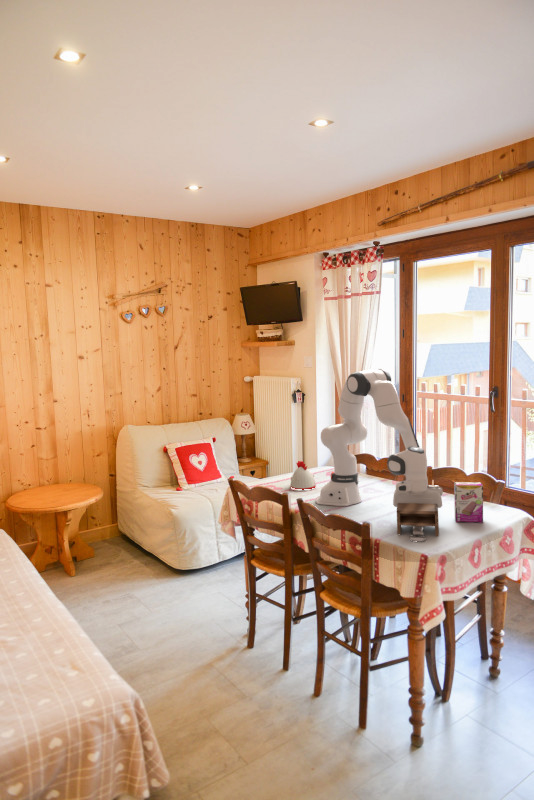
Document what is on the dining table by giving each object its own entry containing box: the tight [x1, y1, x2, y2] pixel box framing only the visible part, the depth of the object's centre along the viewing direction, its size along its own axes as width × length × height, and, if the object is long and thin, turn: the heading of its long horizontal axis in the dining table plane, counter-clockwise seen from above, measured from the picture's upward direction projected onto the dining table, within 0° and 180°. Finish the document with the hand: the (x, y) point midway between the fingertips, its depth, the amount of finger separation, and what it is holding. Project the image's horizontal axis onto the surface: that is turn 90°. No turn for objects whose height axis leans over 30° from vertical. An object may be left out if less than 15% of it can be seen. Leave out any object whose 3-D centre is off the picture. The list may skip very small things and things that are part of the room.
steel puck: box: [409, 533, 427, 543], centre depth 214 cm, size 6×6×2 cm
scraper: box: [412, 526, 424, 535], centre depth 226 cm, size 10×20×6 cm, turn 165°
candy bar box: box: [453, 481, 484, 524], centre depth 231 cm, size 11×5×16 cm, turn 77°
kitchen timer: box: [289, 460, 317, 490], centre depth 299 cm, size 14×14×15 cm
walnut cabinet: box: [396, 503, 440, 537], centre depth 222 cm, size 16×10×10 cm, turn 75°
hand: (417, 516), depth 232 cm, fingers closed on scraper, 3 cm apart
